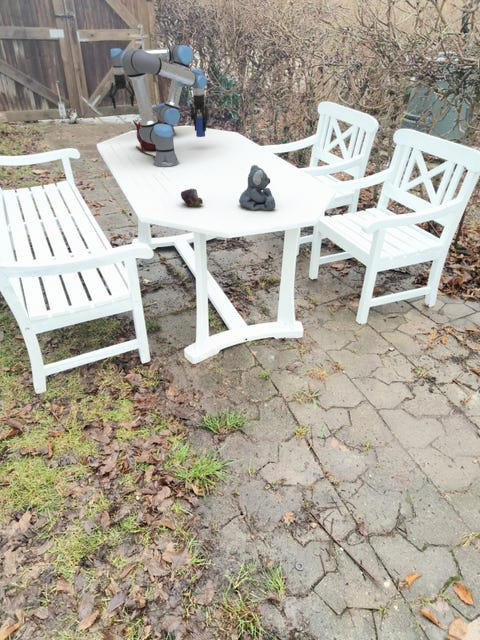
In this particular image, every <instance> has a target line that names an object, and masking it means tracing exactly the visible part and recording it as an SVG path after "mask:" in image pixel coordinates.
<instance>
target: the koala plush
mask: <svg viewBox="0 0 480 640" xmlns="http://www.w3.org/2000/svg"><path fill="white" fill-rule="evenodd" d="M270 183H271V178H269V176H268V175H267V173H266V172H265V170H264V169H263V168H261V167H259V165H257V164H253V165H250V170H249V173H248V176H247V188H246V189H245V190H244V191H243V192H242V193H241V194H240V197H239V199H238V203H239V204H240V206H241V207H242V208H246V209H247V210H252V211H255V210H261V211H272V210H274V209H275V208H276V200H275V198H274V196H273V194H272V191H271V188H270V187H268V186H269V185H270Z"/></svg>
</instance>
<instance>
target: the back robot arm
mask: <svg viewBox="0 0 480 640" xmlns="http://www.w3.org/2000/svg"><path fill="white" fill-rule="evenodd" d="M126 50H127V49H121V48H117V47H115V48H111V49H110V58H111V59H110V60H111V64H112V65H111V66H112V72H113V74H114V75H113V80H114V82H110V87H109V91H108V95H107V97H108V98H110V101H111V104H112V105H113V109H117V106H116V99H115V98H116V97H115V96H116V94H117V92H118V91H119V90H125V91H126V92H127V93H128V94H129V95H130V96H129V98H130V99H129V100H130V105H131V107H134V106H135V105H134V104H135V103H134V102H135V93H134V89H133V85H131V84H132V83H131V81H129V80H127V81H126V75H125V70H124V69H123V67H122V65H121V56H122V54H123V52H124V51H126ZM138 50H143V51H146V52H148V53H150V54H152V55H154V56H157V57H159V58H160V59H161V60H162V61H166V62H172V65H174V66H177V67H179V68H182V69H185V70H187V71H188V70H189V69H190V64H191V63H192V62H193V60H194V52H193V50H192V48H191V47H190V46H188V45H185V44H174V45H167V46H165V47H162V48H161V47H160V48H142V49H139V48H138ZM114 86H115V87H114ZM127 86H128V87H127ZM182 89H183V87H180V86H178V84H177V81H176V80H173V79H171V82H170V85H169V92H168V97H167V101H165V102H163V103H157V104H156V105H155V110H156V119H159V120H160V121H161V122H163V123H164V124H167V125H169V126H171V127H172V131H173V136H175V135H176V129H175V127H174V125H176V124H177V123H178V122H179V121H180V118H181V114H180V108H181V107H180V105H179V103H180V100H181V95H182ZM114 97H115V98H114Z"/></svg>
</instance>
